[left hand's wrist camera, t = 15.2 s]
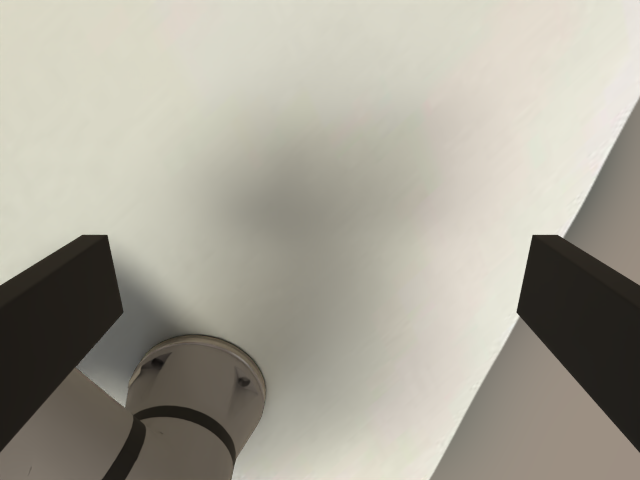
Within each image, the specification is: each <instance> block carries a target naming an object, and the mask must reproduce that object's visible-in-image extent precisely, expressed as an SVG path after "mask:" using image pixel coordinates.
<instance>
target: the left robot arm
mask: <svg viewBox="0 0 640 480" xmlns="http://www.w3.org/2000/svg"><path fill="white" fill-rule="evenodd" d="M122 313H123V308H122V303H121V298H120V293H119V289H118V284H117V279H116V274H115V269H114V265H113V260H112V255H111V250H110V245H109V241H108V236H107V235H82V236H80V237H78V238H77V239H75V240H73V241H72V242H70V243H69V244H67V245H65V246H64V247H62V248H60V249H59V250H57V251H56V252H54V253H52V254H51V255H49V256H47V257H46V258H44V259H43V260H41V261H39V262H38V263H36V264H34V265H33V266H31V267H30V268H28V269H26V270H25V271H23V272H21V273H20V274H18V275H17V276H15V277H13V278H12V279H10V280H8V281H7V282H5V283H4V284H2V285H0V480H231V478H232V474H233V469H234V465H235V461H236V458H237V456H238V455H239V453H240V451H241V450H242V448H243V447H244V445H245V444H246V442H247V440H248V439H249V437H250V436H251V434H252V433H253V431H254V429H255V428H256V426H257V424H258V422H259V420H260V418H261V416H262V413H263V408H264V403H265V396H266V388H265V382H264V379H263V376H262V374H261V372H260V370H259V368H258V367H257V365H256V364H255V363H254V361H253V360H252V359H251V358H250V357H249V356H248V355H247V354H246V353H244V352H243V351H242V350H240V349H239V348H237V347H236V346H234V345H232V344H230V343H228V342H226V341H223V340H220V339H217V338H213V337H208V336H201V335H185V336H179V337H174V338H171V339H168V340H165V341H163V342H161V343H159V344H158V345H156V346H154V347H153V348H152V349H151V350H149V351H148V352H147V353H146V355H145V356H144V357H143V358H142V360H141V361H140V363H139V365H138V366H137V368H136V369H135V371H134V373H133V375H132V378H131V380H130V381H129V386H128V388H129V389H128V395H127V401H126V406H125V408H124V407H123V406H122V405H121V404H119V403H118V402H117V401H115V400H114V399H113V398H112V397H110V396H109V395H108V394H107V393H106V392H104V391H103V390H102V389H101V388H100V387H98V386H97V385H96V384H95V383H94V382H92V381H91V380H90V379H89V378H88V377H86V376H85V375H84V374H83V373H82V372H80V371H79V370H78V369H77V368H76V366H77V365H78V364H79V362H80V361H81V360H82V359H83V358H84V357H85V356H86V354H87V353H88V352H89V351H90V350H91V349H92V348H93V346H94V345H95V344H96V343H97V342H98V341H99V340H100V338H101V337H102V336H103V335H104V334H105V333H106V332H107V331H108V329H109V328H110V327H111V326H112V325H113V324H114V323H115V321H116V320H117V319H118V318H119V317H120V316H121V315H122ZM517 313H518V315H519V316H520V317H521V318H522V319H523V320H524V321H525V323H526V324H527V325H528V326H529V327H530V328H531V329H532V330H533V332H534V333H535V334H536V335H537V336H538V337H539V338H540V340H541V341H542V342H543V343H544V344H545V345H546V346H547V348H548V349H549V350H550V351H551V352H552V353H553V354H554V356H555V357H556V358H557V359H558V360H559V361H560V362H561V364H562V365H563V366H564V367H565V368H566V369H567V370H568V371H569V373H570V374H571V375H572V376H573V377H574V378H575V379H576V381H577V382H578V383H579V384H580V385H581V386H582V387H583V389H584V390H585V391H586V392H587V393H588V394H589V395H590V397H591V398H592V399H593V400H594V401H595V402H596V403H597V404H598V406H599V407H600V408H601V409H602V410H603V411H604V412H605V414H606V415H607V416H608V417H609V418H610V419H611V420H612V422H613V423H614V424H615V425H616V426H617V427H618V428H619V429H620V431H621V432H622V433H623V434H624V435H625V436H626V437H627V439H628V440H629V441H630V442H631V443H632V444H633V445H634V447H635V448H636V449H637V450H638V451H639V452H640V285H638V284H636V283H635V282H633V281H631V280H630V279H628V278H627V277H625V276H623V275H622V274H620V273H618V272H617V271H615V270H614V269H612V268H610V267H609V266H607V265H606V264H604V263H602V262H601V261H599V260H597V259H596V258H594V257H593V256H591V255H589V254H588V253H586V252H584V251H583V250H581V249H580V248H578V247H576V246H575V245H573V244H571V243H570V242H568V241H566V240H565V239H563V238H562V237H560V236H558V235H533V236H532V241H531V245H530V250H529V255H528V260H527V265H526V269H525V274H524V279H523V284H522V289H521V293H520V298H519V303H518V308H517Z"/></svg>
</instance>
